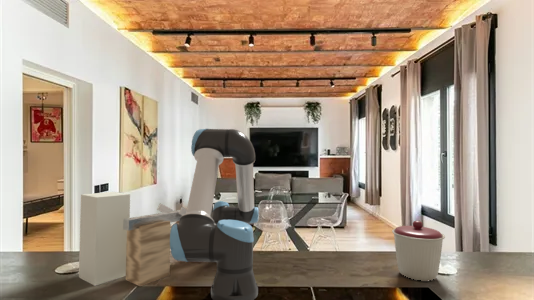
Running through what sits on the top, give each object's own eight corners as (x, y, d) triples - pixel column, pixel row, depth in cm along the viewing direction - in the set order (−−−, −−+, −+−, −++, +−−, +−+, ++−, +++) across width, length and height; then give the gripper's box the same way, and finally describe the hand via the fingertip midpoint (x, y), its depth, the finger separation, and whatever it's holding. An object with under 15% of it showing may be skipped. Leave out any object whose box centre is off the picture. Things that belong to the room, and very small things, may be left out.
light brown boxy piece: (169, 275, 114) (170, 221, 115) (140, 286, 105) (141, 226, 105) (155, 270, 120) (156, 218, 120) (125, 279, 110) (127, 223, 110)
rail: (185, 219, 124) (185, 210, 124) (128, 230, 104) (129, 220, 104) (179, 218, 126) (180, 209, 126) (123, 229, 106) (123, 219, 107)
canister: (452, 288, 107) (452, 227, 107) (397, 283, 110) (397, 224, 111) (435, 269, 124) (435, 217, 125) (388, 266, 128) (388, 215, 128)
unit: (128, 275, 114) (130, 194, 115) (94, 285, 105) (97, 197, 105) (110, 267, 122) (112, 191, 122) (78, 276, 112) (80, 194, 113)
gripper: (221, 240, 126) (186, 221, 111) (182, 231, 140) (146, 213, 125) (228, 223, 129) (194, 202, 114) (188, 215, 143) (154, 196, 129)
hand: (169, 208), depth 120 cm, fingers open, 13 cm apart
